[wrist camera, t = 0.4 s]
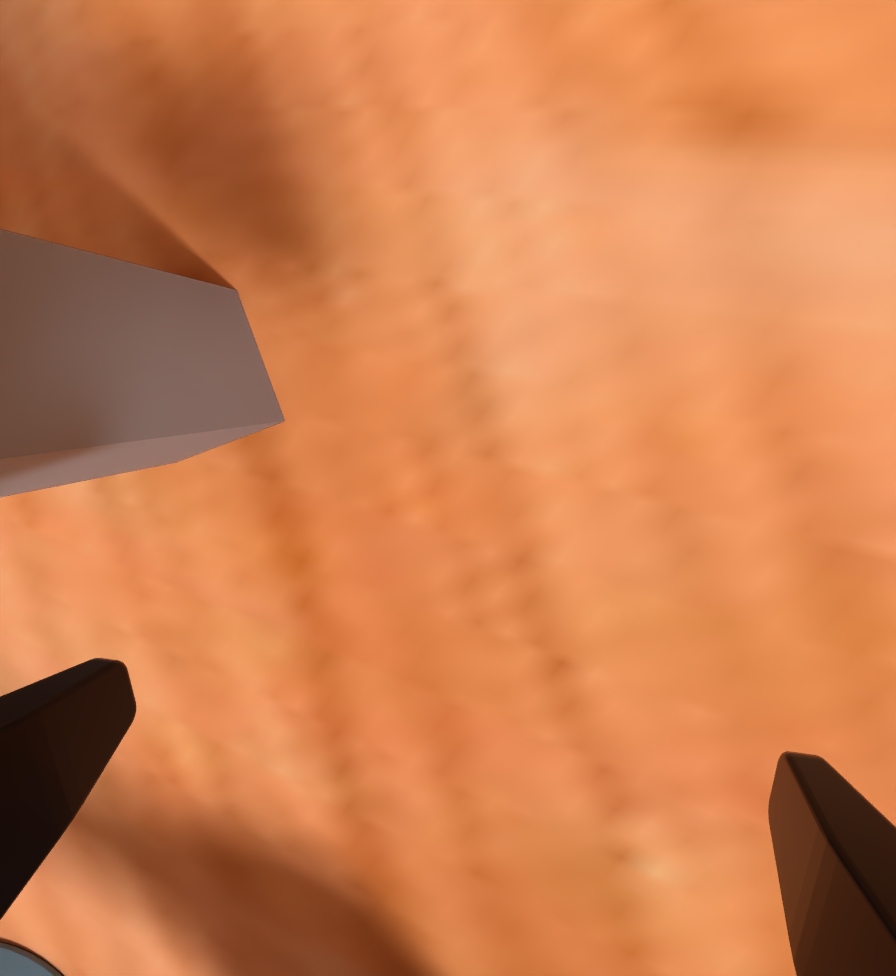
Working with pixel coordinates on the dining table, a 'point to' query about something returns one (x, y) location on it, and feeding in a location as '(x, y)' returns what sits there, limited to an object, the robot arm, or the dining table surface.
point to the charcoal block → (117, 367)
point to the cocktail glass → (22, 963)
